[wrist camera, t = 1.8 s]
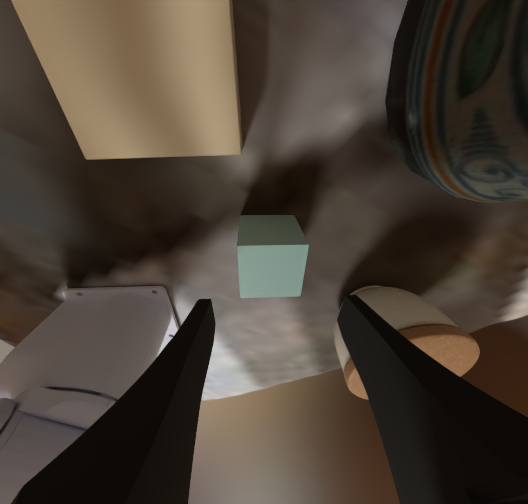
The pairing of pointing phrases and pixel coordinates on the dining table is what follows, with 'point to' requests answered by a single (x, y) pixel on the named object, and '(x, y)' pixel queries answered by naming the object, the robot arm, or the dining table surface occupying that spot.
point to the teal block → (270, 256)
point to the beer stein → (463, 96)
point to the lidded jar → (411, 332)
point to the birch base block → (141, 74)
